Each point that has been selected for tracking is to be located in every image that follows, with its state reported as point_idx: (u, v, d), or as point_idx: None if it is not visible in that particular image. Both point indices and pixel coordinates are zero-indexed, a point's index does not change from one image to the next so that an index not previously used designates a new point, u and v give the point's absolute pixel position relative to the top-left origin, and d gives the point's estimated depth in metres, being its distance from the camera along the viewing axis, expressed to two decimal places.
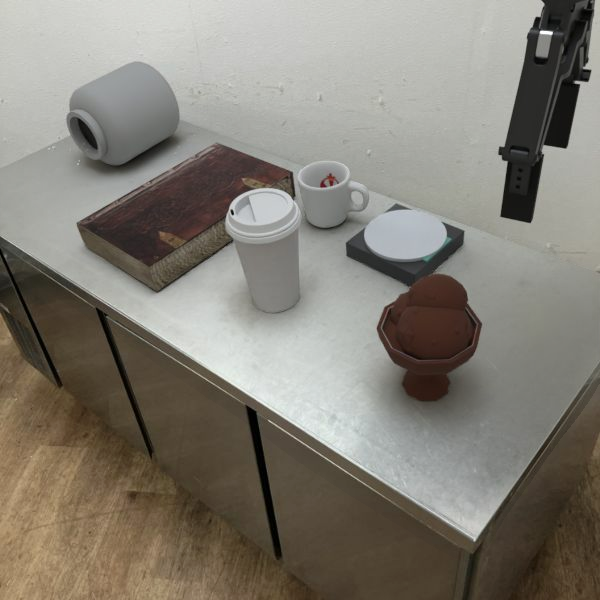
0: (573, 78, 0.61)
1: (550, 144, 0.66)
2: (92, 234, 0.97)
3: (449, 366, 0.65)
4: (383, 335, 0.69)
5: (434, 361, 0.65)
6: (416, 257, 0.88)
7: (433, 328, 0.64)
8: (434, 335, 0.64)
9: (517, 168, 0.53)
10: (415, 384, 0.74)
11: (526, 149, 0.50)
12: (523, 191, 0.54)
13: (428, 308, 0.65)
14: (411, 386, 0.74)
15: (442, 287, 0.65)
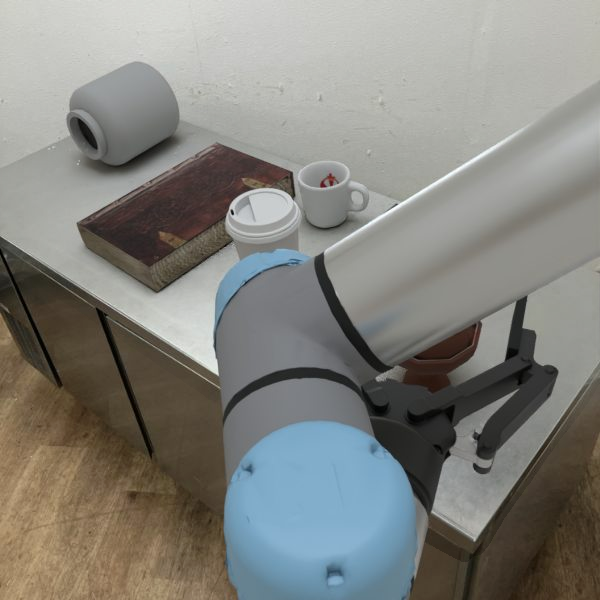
0: None
1: None
2: (92, 234, 0.97)
3: (449, 366, 0.65)
4: None
5: (434, 361, 0.65)
6: None
7: None
8: None
9: None
10: (415, 384, 0.74)
11: None
12: (535, 336, 0.50)
13: None
14: None
15: None
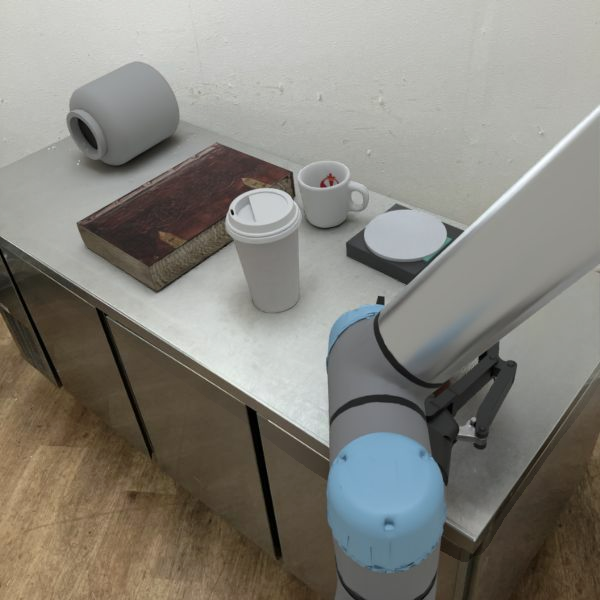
0: None
1: None
2: (92, 234, 0.97)
3: None
4: None
5: None
6: (416, 257, 0.88)
7: None
8: None
9: None
10: None
11: None
12: None
13: None
14: None
15: None
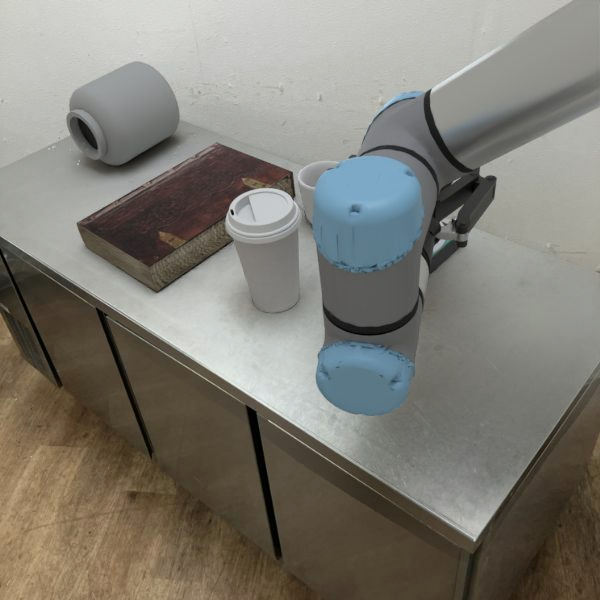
0: None
1: None
2: (92, 234, 0.97)
3: None
4: None
5: None
6: None
7: None
8: None
9: None
10: None
11: None
12: None
13: None
14: None
15: None
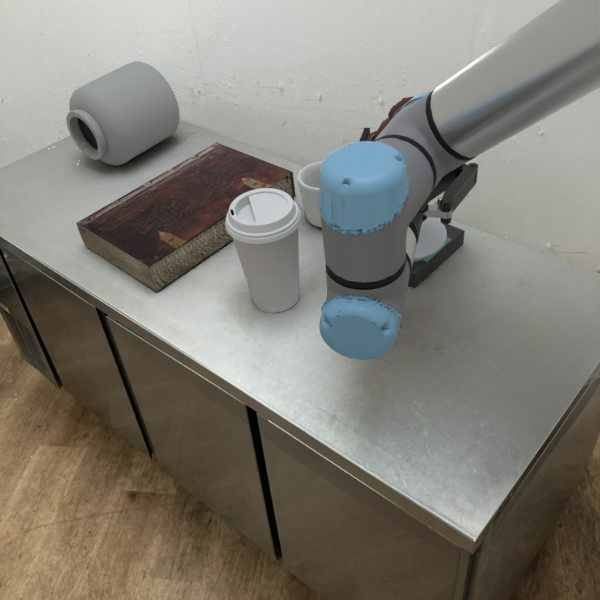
0: None
1: None
2: (92, 234, 0.97)
3: None
4: None
5: None
6: (416, 257, 0.88)
7: None
8: None
9: None
10: None
11: None
12: None
13: None
14: None
15: None
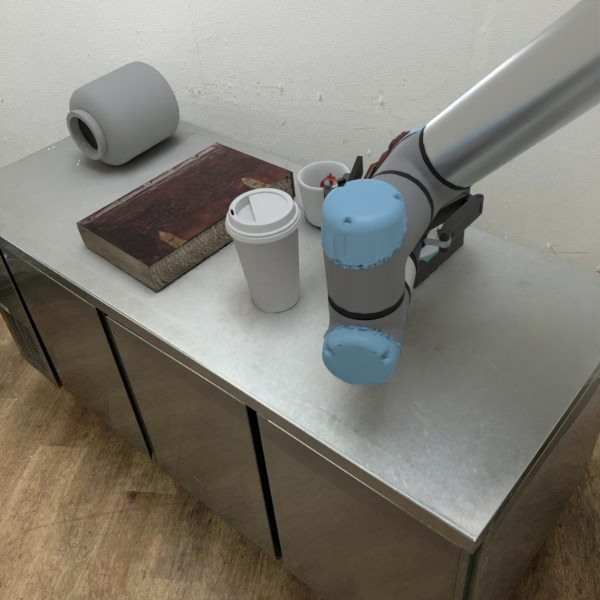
0: None
1: (362, 166, 0.89)
2: (92, 234, 0.97)
3: None
4: None
5: None
6: None
7: None
8: None
9: None
10: None
11: None
12: None
13: None
14: None
15: None
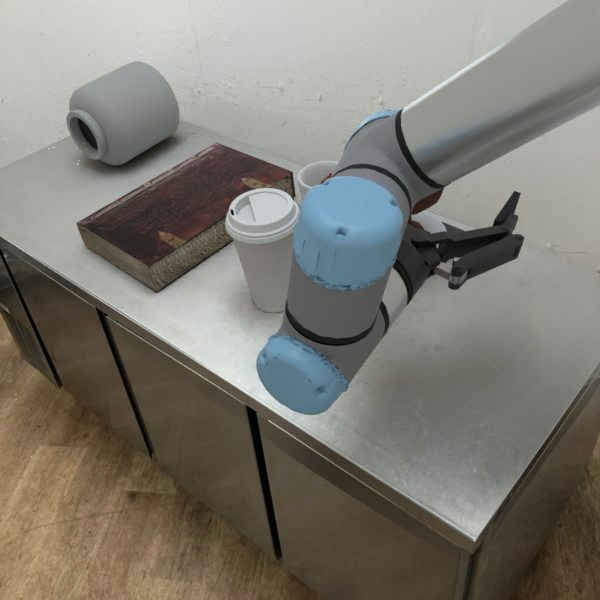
0: None
1: None
2: (92, 234, 0.97)
3: (421, 201, 0.82)
4: None
5: None
6: None
7: None
8: None
9: None
10: None
11: None
12: (517, 219, 0.70)
13: None
14: None
15: None
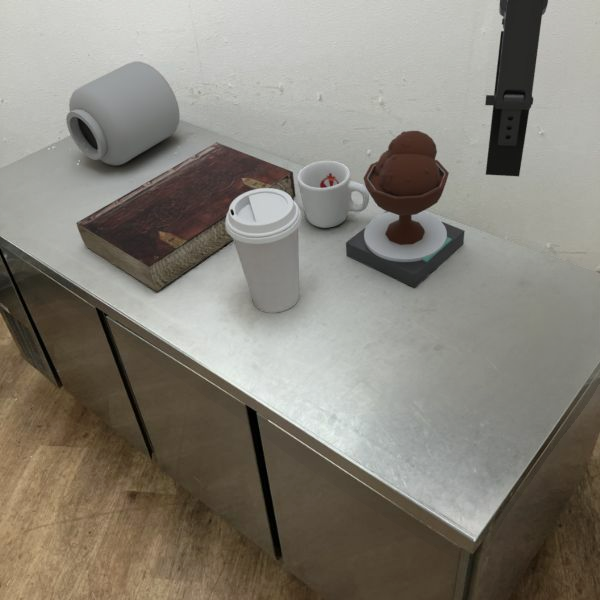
0: None
1: None
2: (92, 234, 0.97)
3: (421, 201, 0.82)
4: (369, 182, 0.85)
5: (409, 196, 0.82)
6: (416, 257, 0.88)
7: (407, 168, 0.81)
8: (408, 174, 0.81)
9: (507, 116, 0.49)
10: (395, 231, 0.90)
11: (520, 92, 0.47)
12: (514, 141, 0.51)
13: (404, 154, 0.82)
14: (392, 233, 0.90)
15: (415, 138, 0.82)
